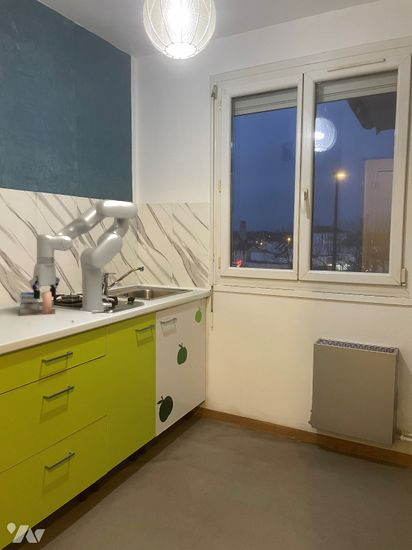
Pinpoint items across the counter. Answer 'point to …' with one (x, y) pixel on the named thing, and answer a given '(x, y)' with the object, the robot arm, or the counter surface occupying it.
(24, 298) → the medicine box
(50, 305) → the peg
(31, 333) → the counter surface
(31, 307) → the socket board
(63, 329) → the counter surface
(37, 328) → the counter surface
